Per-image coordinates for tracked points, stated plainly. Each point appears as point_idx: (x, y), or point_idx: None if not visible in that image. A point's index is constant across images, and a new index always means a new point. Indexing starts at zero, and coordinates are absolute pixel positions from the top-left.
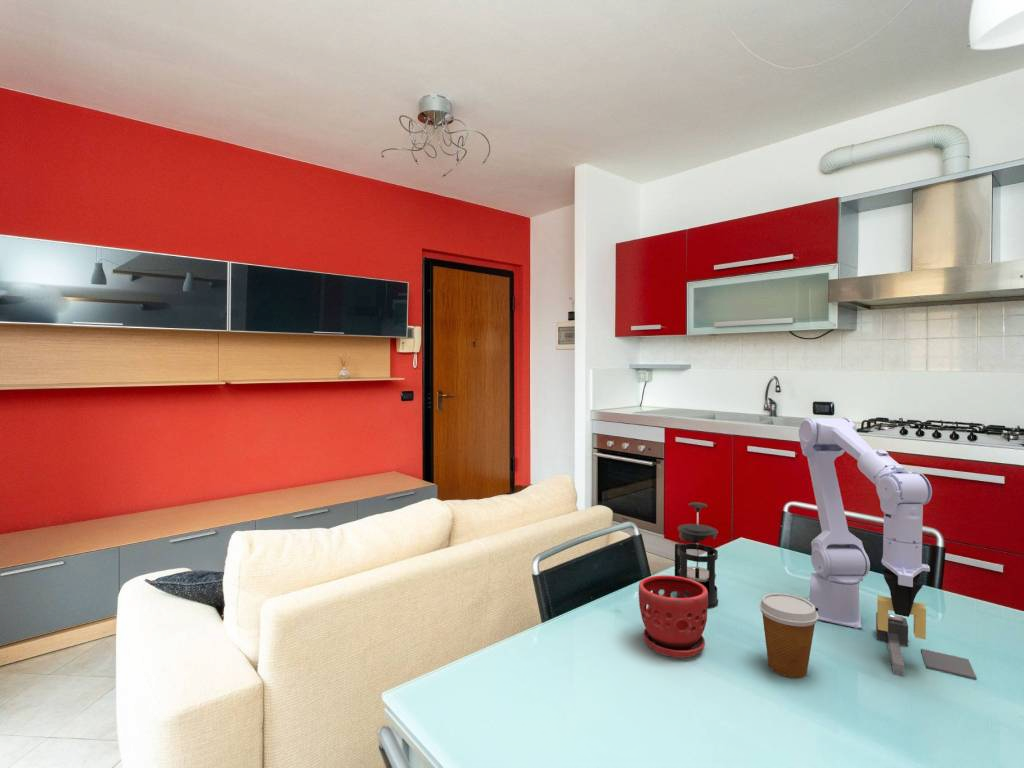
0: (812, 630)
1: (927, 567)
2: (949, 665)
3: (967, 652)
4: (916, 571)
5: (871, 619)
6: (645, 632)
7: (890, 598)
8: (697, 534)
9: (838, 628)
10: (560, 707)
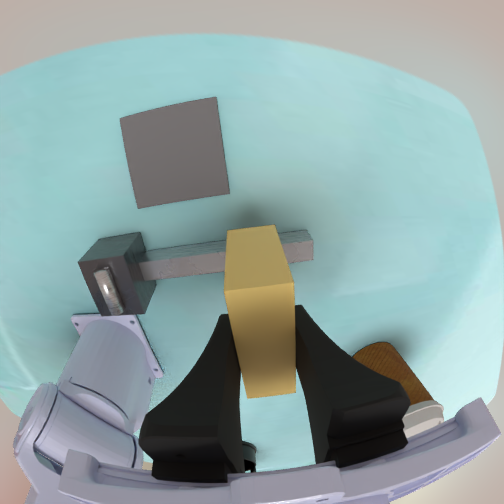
0: (417, 392)
1: (329, 498)
2: (188, 149)
3: (76, 126)
4: (440, 468)
5: (70, 297)
6: None
7: (250, 376)
8: None
9: (162, 340)
10: (463, 404)
